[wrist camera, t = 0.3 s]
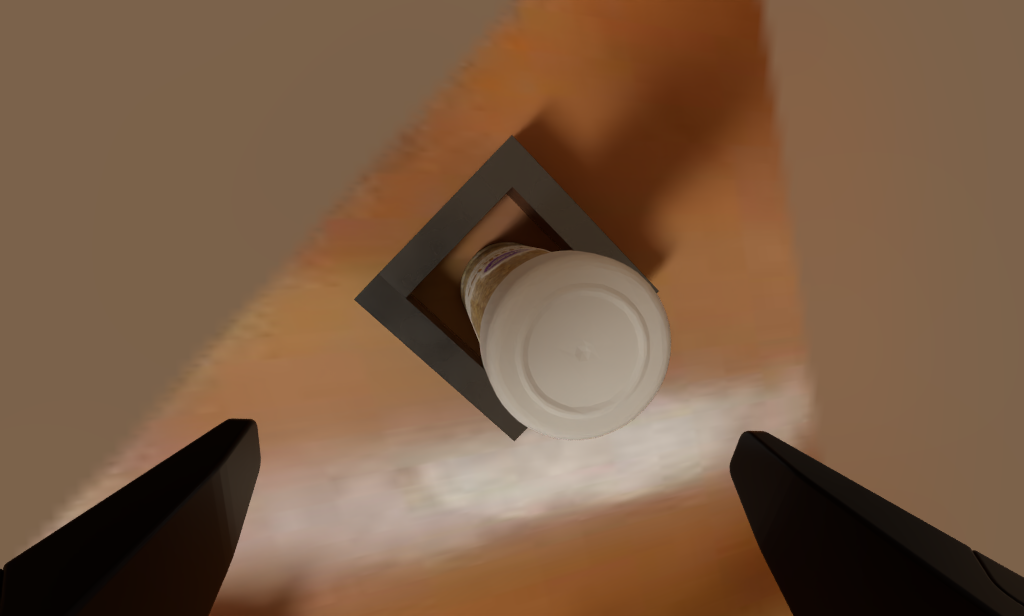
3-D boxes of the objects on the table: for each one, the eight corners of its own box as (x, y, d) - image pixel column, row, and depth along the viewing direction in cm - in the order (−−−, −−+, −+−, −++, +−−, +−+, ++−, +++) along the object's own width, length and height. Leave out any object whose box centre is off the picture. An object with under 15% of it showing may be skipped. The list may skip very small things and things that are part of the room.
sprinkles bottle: (507, 222, 24) (593, 210, 11) (569, 289, 25) (715, 351, 12) (438, 288, 24) (443, 354, 11) (503, 353, 25) (578, 484, 12)
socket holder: (506, 421, 26) (514, 441, 23) (362, 292, 24) (353, 299, 21) (637, 285, 26) (658, 291, 23) (503, 145, 24) (512, 135, 21)
